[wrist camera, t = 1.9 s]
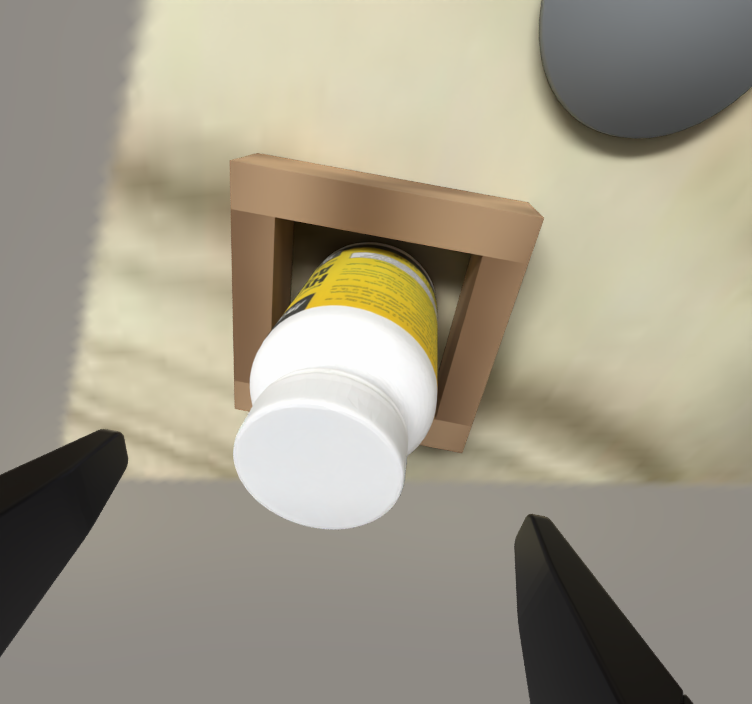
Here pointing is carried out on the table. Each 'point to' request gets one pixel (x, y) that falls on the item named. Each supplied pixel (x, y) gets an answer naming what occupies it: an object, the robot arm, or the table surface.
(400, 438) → the supplement bottle
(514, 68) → the table surface
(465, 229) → the wooden frame
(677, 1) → the coaster
